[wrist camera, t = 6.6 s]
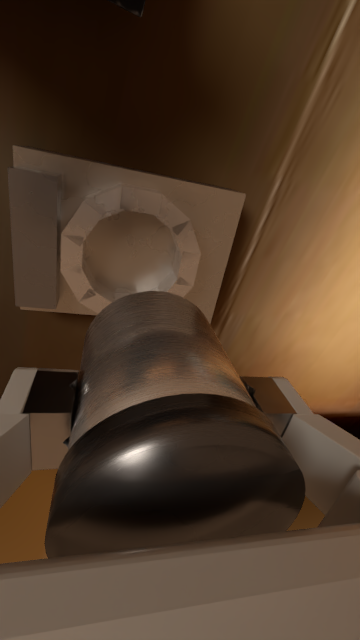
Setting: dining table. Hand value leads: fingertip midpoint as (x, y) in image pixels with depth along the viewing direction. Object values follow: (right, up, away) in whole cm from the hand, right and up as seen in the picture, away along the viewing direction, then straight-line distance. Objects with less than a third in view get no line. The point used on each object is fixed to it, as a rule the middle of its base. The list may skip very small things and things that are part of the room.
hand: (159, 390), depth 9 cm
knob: (0, +1, +2) cm, 2 cm away
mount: (-3, +8, +14) cm, 17 cm away
